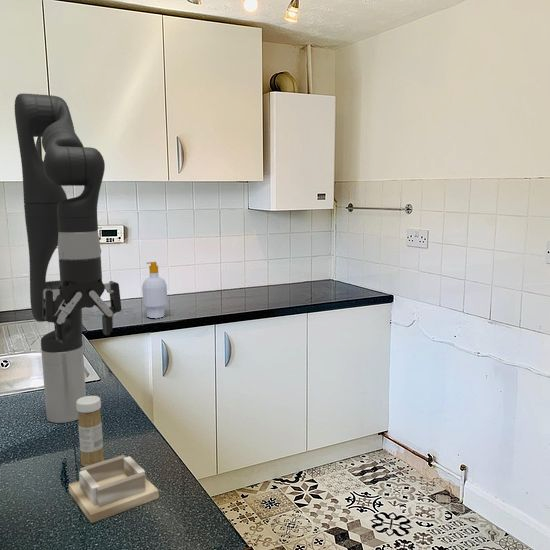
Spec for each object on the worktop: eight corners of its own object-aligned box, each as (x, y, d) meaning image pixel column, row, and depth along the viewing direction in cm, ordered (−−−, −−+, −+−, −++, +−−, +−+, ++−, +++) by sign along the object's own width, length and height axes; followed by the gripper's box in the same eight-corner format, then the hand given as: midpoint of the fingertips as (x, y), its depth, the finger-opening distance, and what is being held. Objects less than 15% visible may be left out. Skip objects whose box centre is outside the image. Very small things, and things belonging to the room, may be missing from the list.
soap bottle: (139, 317, 235) (136, 262, 231) (160, 313, 241) (158, 259, 238) (150, 321, 227) (148, 264, 223) (172, 317, 233) (170, 262, 230)
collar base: (68, 491, 98) (67, 468, 98) (132, 470, 105) (130, 449, 105) (91, 523, 89) (89, 498, 88) (158, 498, 96) (157, 474, 95)
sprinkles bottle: (97, 455, 112) (93, 393, 110) (108, 462, 109) (104, 398, 107) (76, 463, 109) (71, 399, 107) (87, 471, 106) (83, 405, 103)
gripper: (109, 250, 109) (113, 328, 112) (34, 256, 101) (40, 340, 103) (123, 254, 103) (127, 336, 106) (45, 260, 95) (52, 349, 98)
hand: (84, 338), depth 105 cm, fingers open, 8 cm apart
